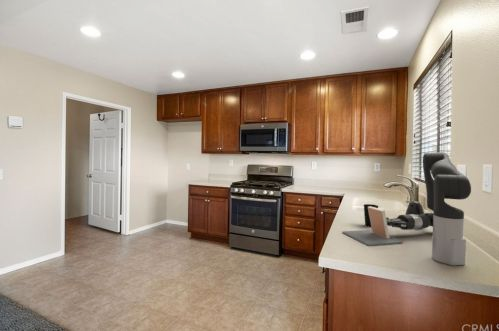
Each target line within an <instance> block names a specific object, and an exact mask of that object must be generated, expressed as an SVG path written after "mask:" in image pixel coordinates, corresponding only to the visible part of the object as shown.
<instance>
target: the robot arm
mask: <svg viewBox="0 0 499 331" xmlns="http://www.w3.org/2000/svg"><path fill="white" fill-rule="evenodd" d="M422 169H423V176H424V182H425V183H424V184H425V191H426V207H427V208H428V209H429V210H431V211H432V212H424V214H421V215H414V214H409V215H405V214H399V215H398V216H397V217H393V218H389V217H388V216H386V221H387V226H388V227H392V228H399V229H400V230H404V231H408V230H417V229H427V228H429V227H432V244H431V246H432V248H431V259H433V260H434V261H436V262H438V263H442V264H444V265H450V266H451V267H453V266H462V265H464V266H465V264H466V251H467V250H466V249H467V248H466V247H467V246H466V244H467V240H466V239H465V238H464V226H465V225H464V222H465V218H464V217H465V211H463V210H462V209H461V208H457V207H455V206H452V205H450V204H448V203H447V202H446V201H445V200H448V199H449V200H465V199H468V198H469V197H470V195H471V193H472V184H471V182H470V180H469V178H468V177H467V176H466V175H464V174H463V173H462V172H460V171H459V170H458V169H457V167H456V165H454V164H453V163H452V161H451V159H450V157H449V155H448V153H446V152H443V151H441V152H439V151H437V152H434V151H433V152H425V153H423V155H422Z"/></svg>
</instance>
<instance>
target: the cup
mask: <svg viewBox="0 0 499 331" xmlns="http://www.w3.org/2000/svg"><path fill="white" fill-rule="evenodd" d="M369 206H371V207H375V208H378V209H379V205H378V204H373V203H372V204H370V203H365V204H363V211H364V212H363V214H364V226H365V225H366V226H365V227H368V226H369V228H372V227H371V221H370V216H369V211H368V207H369Z"/></svg>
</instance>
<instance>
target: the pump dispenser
mask: <svg viewBox="0 0 499 331" xmlns="http://www.w3.org/2000/svg"><path fill="white" fill-rule="evenodd" d="M424 213H425V211H424V207H423V205H422V204H421V202H419V201H418V200H413V201H411V202H409V203H408V206H407V208H406V210H405V214H404V215H409V214H414V215H421V214H424Z"/></svg>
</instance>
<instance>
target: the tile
mask: <svg viewBox="0 0 499 331" xmlns="http://www.w3.org/2000/svg"><path fill="white" fill-rule="evenodd" d="M368 211H369V216H370V221H371V227H370V228H371V230H372V232H373V233H374V234H377V235H379V236H381V237H384V238H386V239H388V238H390V237H391V236H390V232H389V228H388V227H389V226H387V221H386V217H387V216H386V211H385V209H381V208H379V207H378V208H375V207H371V206H369V207H368Z"/></svg>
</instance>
